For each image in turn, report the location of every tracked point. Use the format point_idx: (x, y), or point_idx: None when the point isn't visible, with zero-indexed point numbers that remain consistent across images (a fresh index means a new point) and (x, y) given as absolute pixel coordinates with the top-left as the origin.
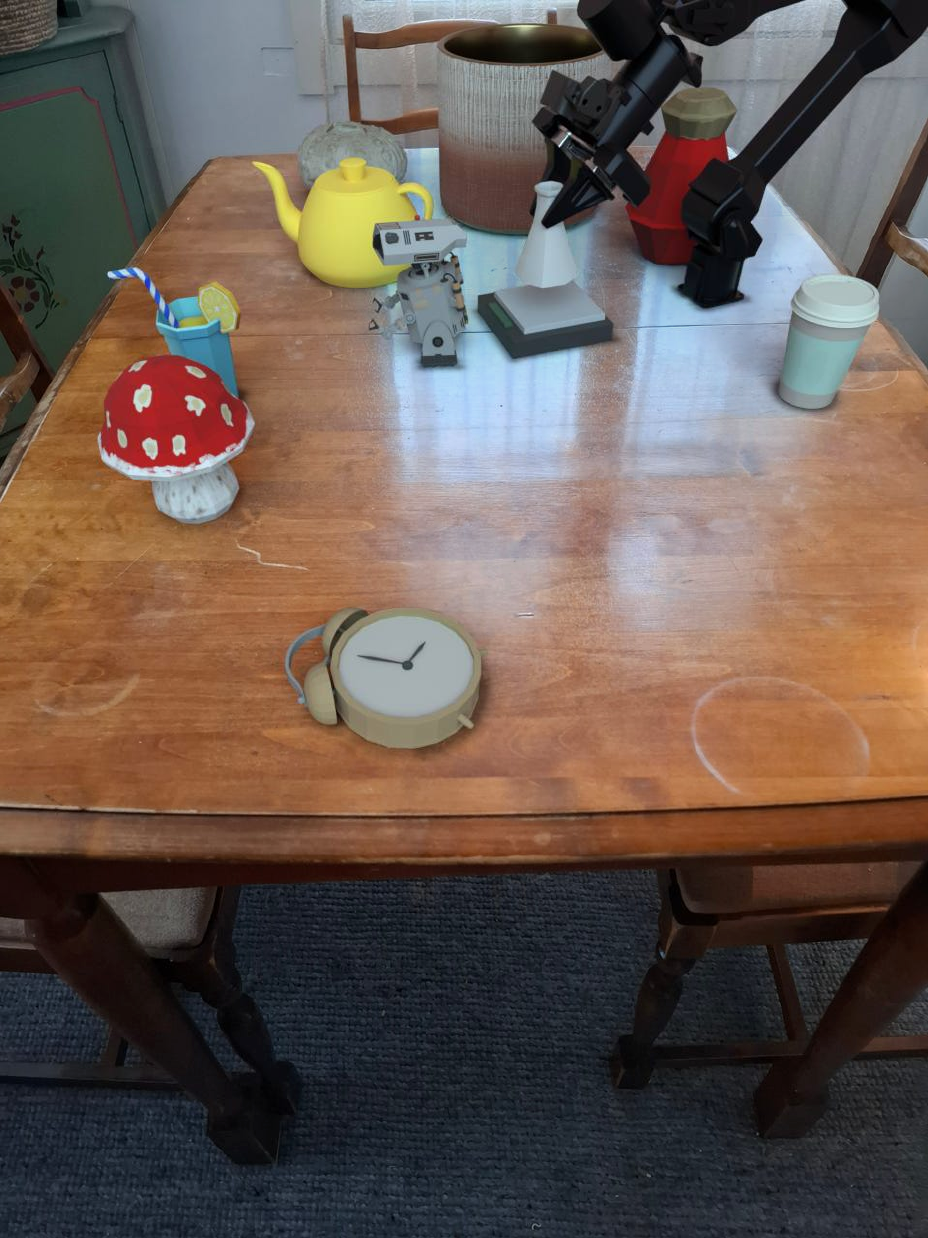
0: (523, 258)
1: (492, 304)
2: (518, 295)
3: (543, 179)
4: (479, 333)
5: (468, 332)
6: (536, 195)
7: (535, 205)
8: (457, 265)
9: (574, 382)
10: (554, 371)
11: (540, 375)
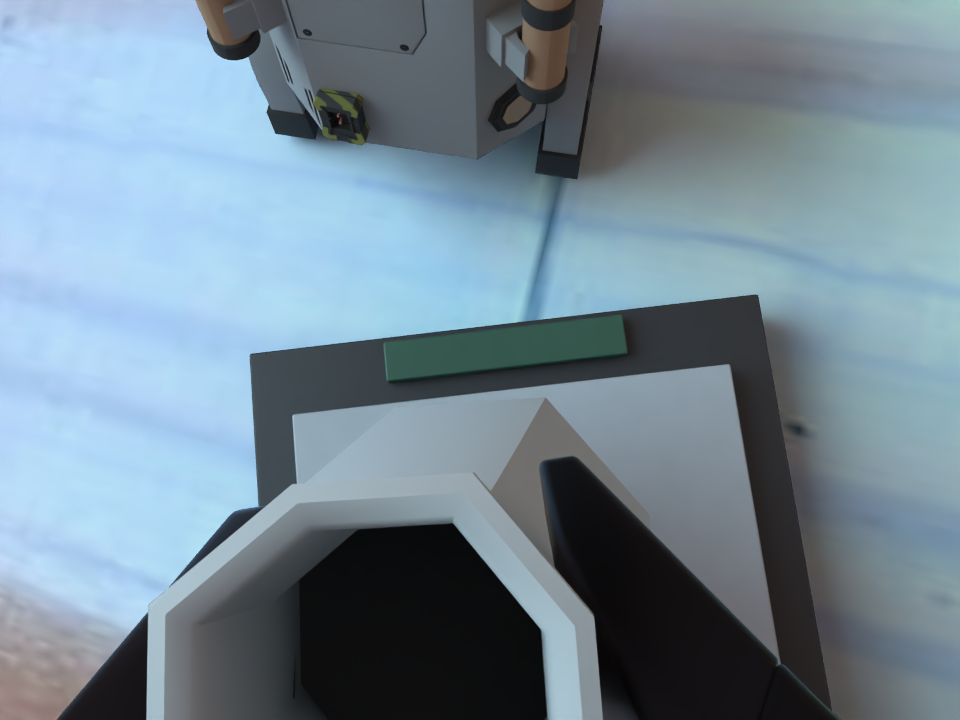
0: (470, 425)
1: (609, 333)
2: (644, 476)
3: (730, 702)
4: (528, 280)
5: (548, 236)
6: (622, 553)
7: (550, 523)
8: (524, 8)
9: (20, 569)
10: (128, 512)
11: (117, 446)
